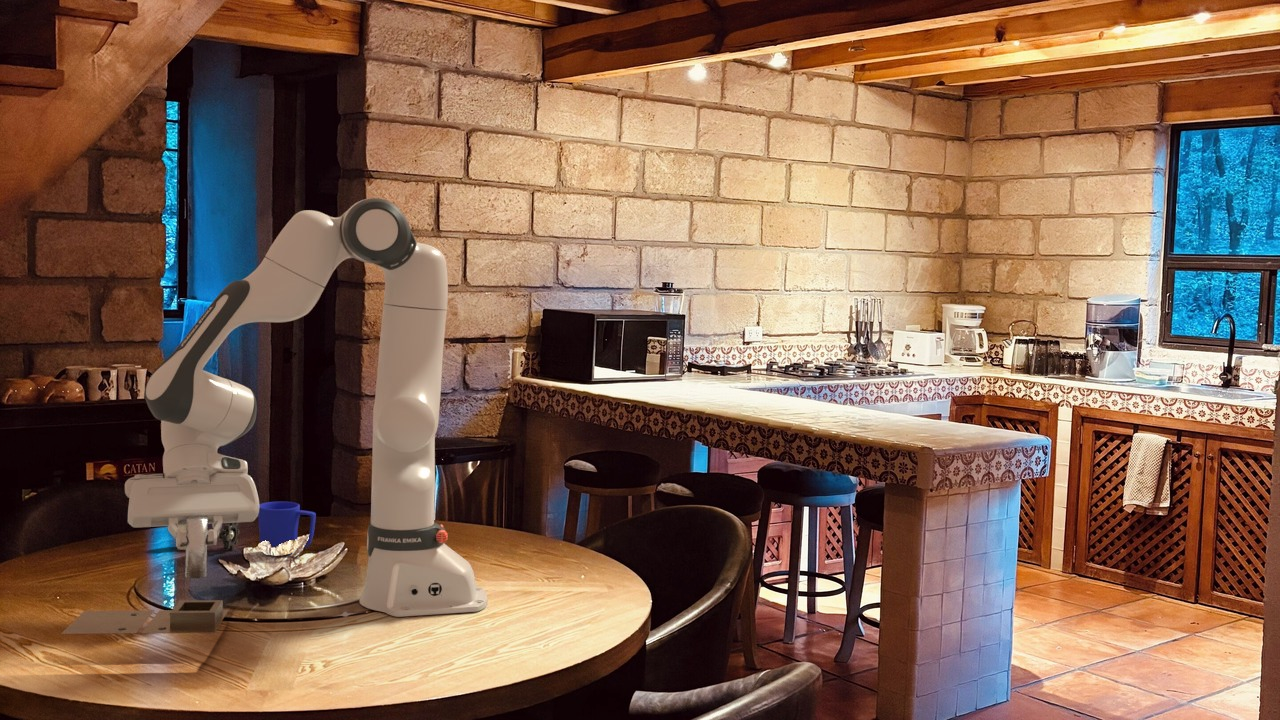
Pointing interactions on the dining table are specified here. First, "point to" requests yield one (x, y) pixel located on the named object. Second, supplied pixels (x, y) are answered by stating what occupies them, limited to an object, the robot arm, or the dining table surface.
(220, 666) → the dining table surface
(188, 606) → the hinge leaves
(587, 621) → the dining table surface
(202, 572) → the pin
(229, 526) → the valve
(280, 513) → the mug
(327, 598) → the dining table surface
